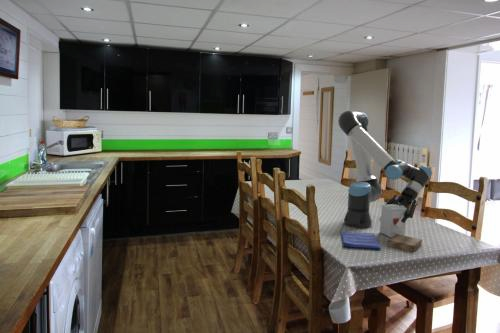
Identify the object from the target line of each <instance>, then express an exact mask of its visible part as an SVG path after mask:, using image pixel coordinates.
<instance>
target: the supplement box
mask: <svg viewBox="0 0 500 333" xmlns="http://www.w3.org/2000/svg"><path fill="white" fill-rule="evenodd" d="M406 210H407V208H405V206H403V205H397V204H391V205H385V204H382V205H381V210H380V211H381V212H380V213H381V214H380V217H381V222H380V223H379V224H380V225H379V226H380V227H379V233H381V234H383V235H385V236H387V237H389V238H392V237H393V236H394V235H396V234H399V235H404V236H406V234H405V233H406V224H407V223H406V222H407V220H406V221H405V223H403V224H402V225H401V227H400V228H398V227H397V226H396V224H397V222H398V221H399V219H400V218H401V217H402V215H404V214H405V211H406ZM404 216H405V215H404Z"/></svg>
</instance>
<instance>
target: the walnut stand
mask: <svg viewBox="0 0 500 333" xmlns="http://www.w3.org/2000/svg"><path fill="white" fill-rule="evenodd" d="M422 241H423V239H422V238H418V237H417V238H416V237H412V236H408V235H399V234H396V235H394V236H393V237H389V239H387V247H390V248H395V249H399V250H404V251H407V252H411V253H415V252H416V251H417V250H419V248H420V247H422V244H423V242H422Z"/></svg>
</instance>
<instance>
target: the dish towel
mask: <svg viewBox="0 0 500 333" xmlns="http://www.w3.org/2000/svg"><path fill="white" fill-rule="evenodd" d="M340 232H341V241H342V247H343V248H345V249H355V250H367V251H381V249H382V247H381V246H380V244H379V242H378V239H377V237H376V235H375V233H374V232H354V231H353V232H352V231H348V230H342V229H341V230H340Z"/></svg>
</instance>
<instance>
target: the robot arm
mask: <svg viewBox="0 0 500 333" xmlns="http://www.w3.org/2000/svg"><path fill="white" fill-rule="evenodd" d="M368 117H369V116H367V114H366V113H364V111H361V110H346V111H343V112H342V113H341V114H340V115H339V117H338V127H339V128H340V129H341V131H342V132H343V133H344V134H345V135H346V136H347V137H348V138H350V141H351V146H352V152H353V156H354V162H355V166H356V170H357V171H356V172H357V176H358V178H357V179H356V180H355V182H351V183H350V184H349V185H348V194H347V195H348V197H347V198H348V199H347V211H346V212H345V216H344V218H343V224H344V225H345V226H348V227H349V228H355V229H368V228H371V227H372V223H373V222H372V221H373V220H372V217H371V213H370V205H371V204H370V203H374V202H375V201H377V200H378V199H380V198H381V195H382V194H383V189H382V185H381V184H380V183H379V182H378V178H377V176H375V175H374V172H373V171H374V170H373V165H372V161H371V159H373V161H374V162H375V163H376V164H377V165H378V166H379V167H380V168H381V169H383V171H384V172H385V175H386V177H387V178H388V179H389V180H393V181H394V180H398V179H401V178H405V179H407V180H409V181H408V183H407V184H406V185H405V187H404V188H403V189H402V191H401V194H400V195H399V196H397V195H396V194H395V195H393V197H392V198H391V199H390V200H388V201H387V202H386V203H385V204H384V205H391V204H397V205H400V206H402V207H405V208H407V210H406V211H405V214H404V215H405V216H404V215H402V217H401V218H400V219H399V221H398V222H397V224H396V226H397V227H398V228H400V227H401V225H402V224H403V223H405V221H406V222H407V219H409V218H410V219H413V217H414V214H415V210H416V207H417V206H418V204H419V202H418V201H417V200H416V199H417V197H418V196H419V195H420V193H421V192H422V191H423V189H424V187H425V186H426V185H427V183H428V182H429V181H430V179H431V177H432V176H433V171H432V169H431V168H430V167H428V166H426V165H421V166H419V167H416V166H414V165H412V164H410V163H407V162H406V161H404V160H401V159H396V160H395V159H394V158H393V157H392V156H391V155H390V154H389V152H387V151H386V150H385V149H384V148H383V147H382V146H381V145H380V144H379V143H378V142H377V141H376V139H374V138H373V137H372V135H370V134H369V133H368V132H369V131H368V130H369V129H368V125H369V118H368ZM378 220H379V221H380V223H381V216H379V218H378ZM405 224H406V223H405Z"/></svg>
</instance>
